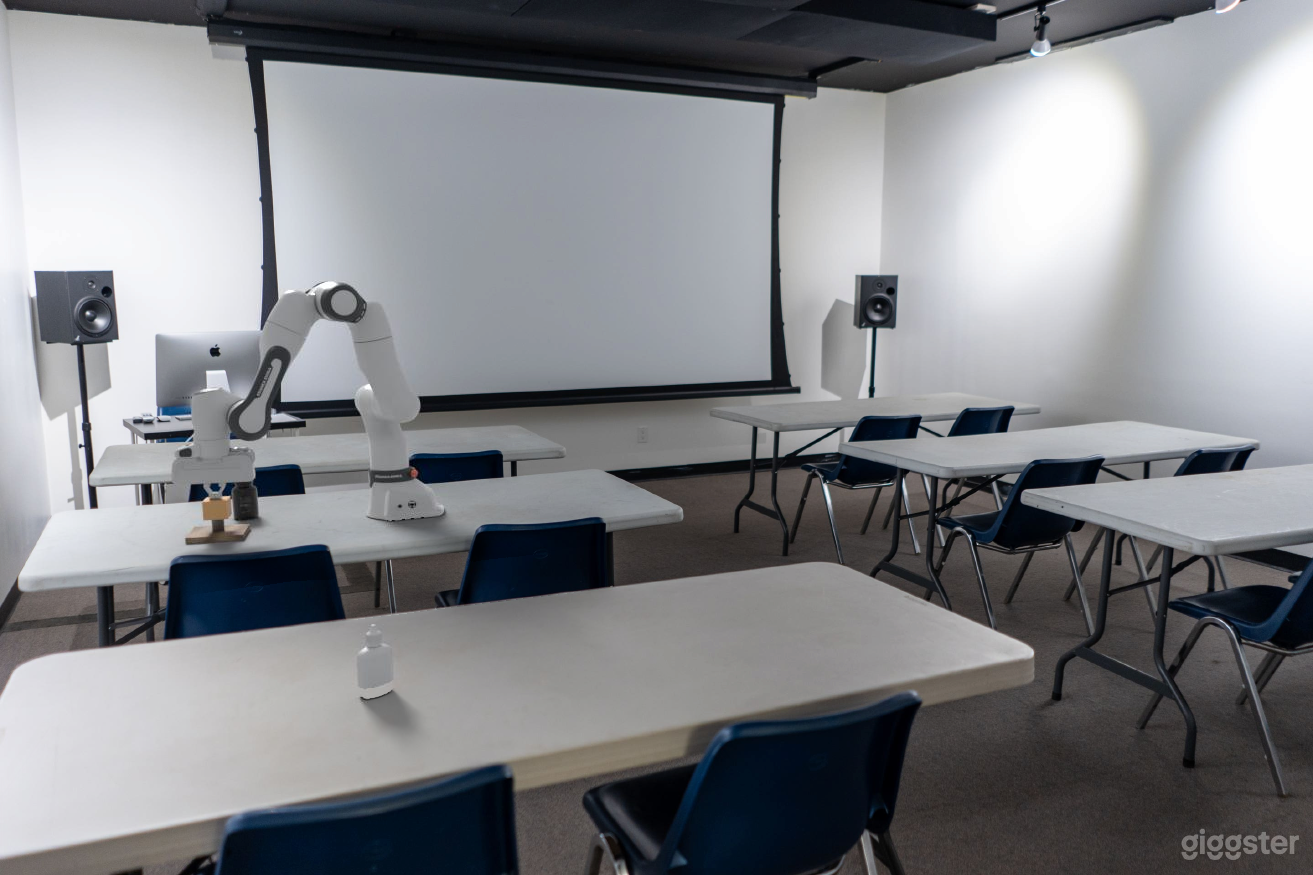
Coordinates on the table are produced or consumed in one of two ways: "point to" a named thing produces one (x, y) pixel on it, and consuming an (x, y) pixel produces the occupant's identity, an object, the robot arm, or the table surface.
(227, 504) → the peach wooden cube
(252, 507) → the supplement bottle
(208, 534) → the post board
